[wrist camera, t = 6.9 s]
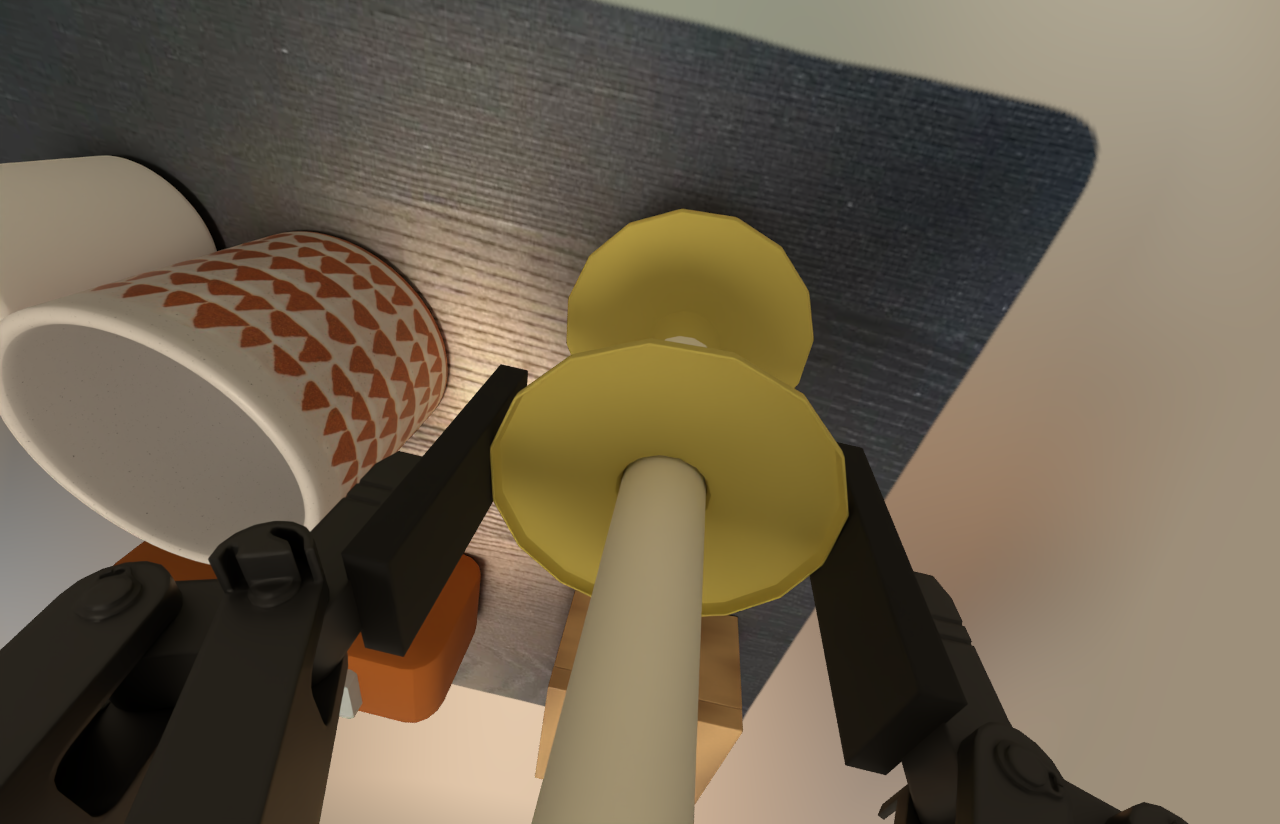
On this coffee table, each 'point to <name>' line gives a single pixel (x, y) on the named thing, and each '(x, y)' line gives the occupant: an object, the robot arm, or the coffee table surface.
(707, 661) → the lidded tan carton
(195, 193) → the coffee table surface
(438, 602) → the alarm clock
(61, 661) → the robot arm
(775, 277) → the candle
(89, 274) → the beverage can
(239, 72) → the coffee table surface
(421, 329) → the planter
